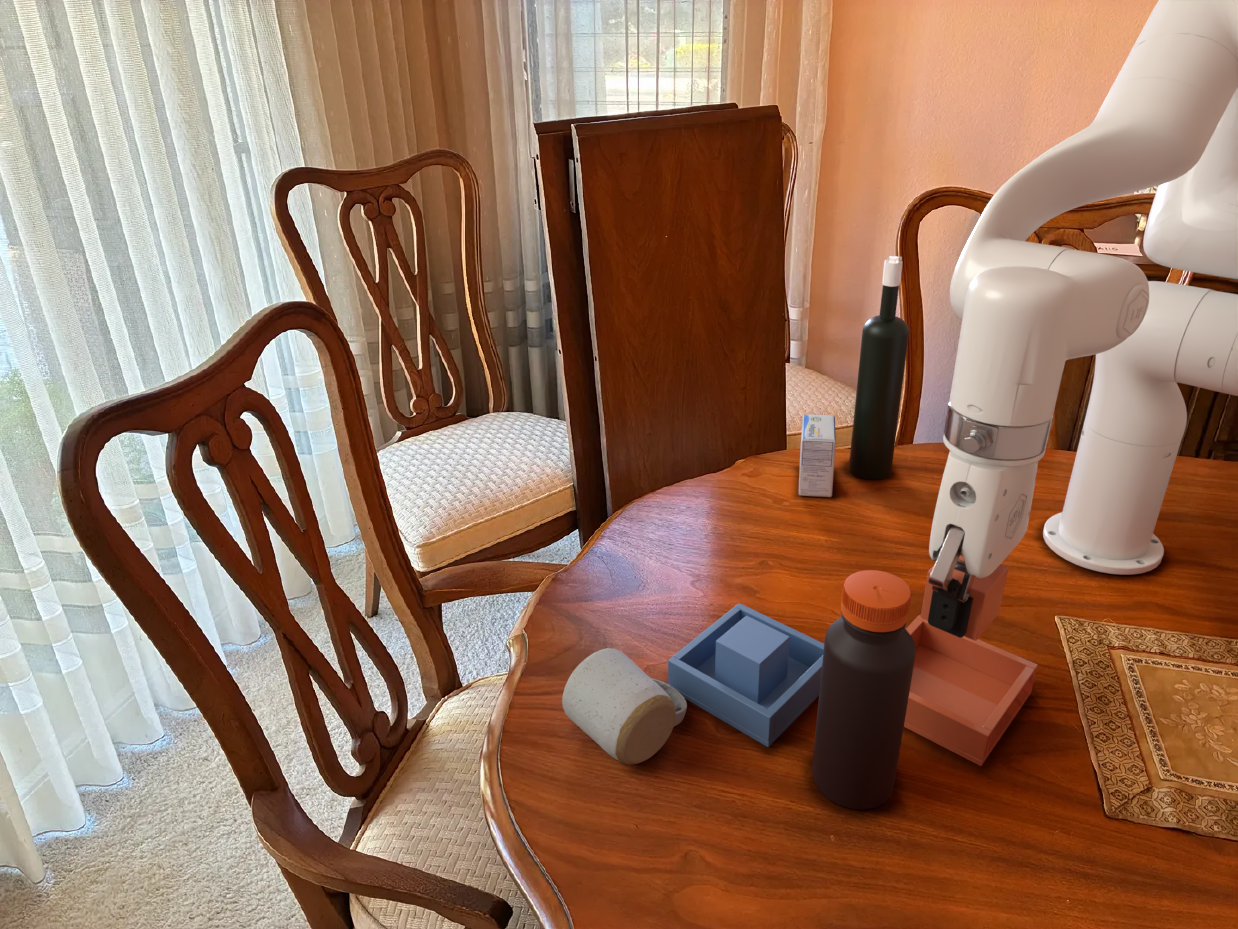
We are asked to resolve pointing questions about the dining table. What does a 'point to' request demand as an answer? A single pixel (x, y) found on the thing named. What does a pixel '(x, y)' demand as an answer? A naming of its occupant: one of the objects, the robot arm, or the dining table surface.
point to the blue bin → (759, 721)
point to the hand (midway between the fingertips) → (960, 612)
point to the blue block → (752, 659)
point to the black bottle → (864, 691)
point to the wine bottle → (879, 383)
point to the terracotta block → (976, 599)
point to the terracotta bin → (964, 691)
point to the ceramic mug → (622, 706)
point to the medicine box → (817, 455)
